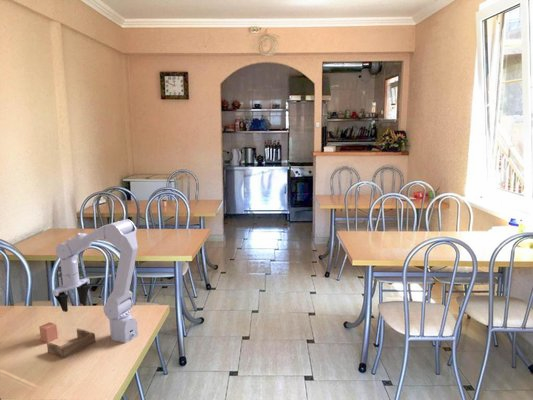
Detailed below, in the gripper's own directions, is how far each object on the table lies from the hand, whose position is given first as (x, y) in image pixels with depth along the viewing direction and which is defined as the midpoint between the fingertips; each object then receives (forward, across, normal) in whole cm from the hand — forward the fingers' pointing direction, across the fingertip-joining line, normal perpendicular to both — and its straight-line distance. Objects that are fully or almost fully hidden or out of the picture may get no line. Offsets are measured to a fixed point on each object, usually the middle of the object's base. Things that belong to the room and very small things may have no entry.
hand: (73, 307), depth 170 cm
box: (+9, +10, +11) cm, 18 cm away
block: (+10, +10, -2) cm, 14 cm away
